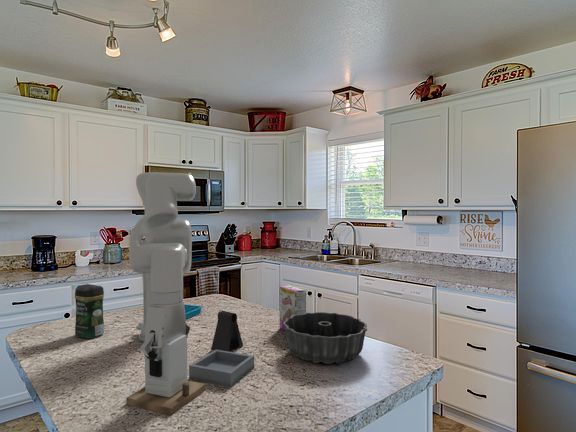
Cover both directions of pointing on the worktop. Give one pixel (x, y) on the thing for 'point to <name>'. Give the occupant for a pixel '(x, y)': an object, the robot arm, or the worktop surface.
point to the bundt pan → (325, 336)
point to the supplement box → (169, 369)
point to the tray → (221, 367)
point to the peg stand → (166, 398)
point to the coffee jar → (89, 311)
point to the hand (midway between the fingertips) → (167, 368)
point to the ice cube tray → (192, 310)
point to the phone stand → (227, 333)
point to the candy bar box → (291, 302)
